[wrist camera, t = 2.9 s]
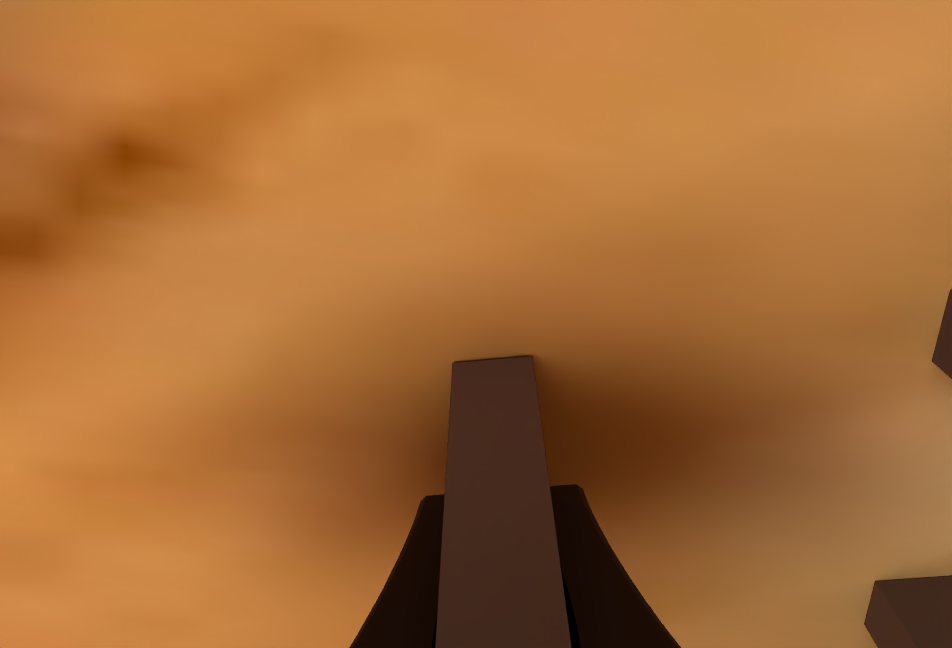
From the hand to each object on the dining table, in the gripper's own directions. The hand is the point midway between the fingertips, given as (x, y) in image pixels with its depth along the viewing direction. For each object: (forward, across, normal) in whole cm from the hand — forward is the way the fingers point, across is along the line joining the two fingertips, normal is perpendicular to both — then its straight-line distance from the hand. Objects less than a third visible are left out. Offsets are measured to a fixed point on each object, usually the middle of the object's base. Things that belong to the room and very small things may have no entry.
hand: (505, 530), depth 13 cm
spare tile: (+2, 0, 0) cm, 2 cm away
